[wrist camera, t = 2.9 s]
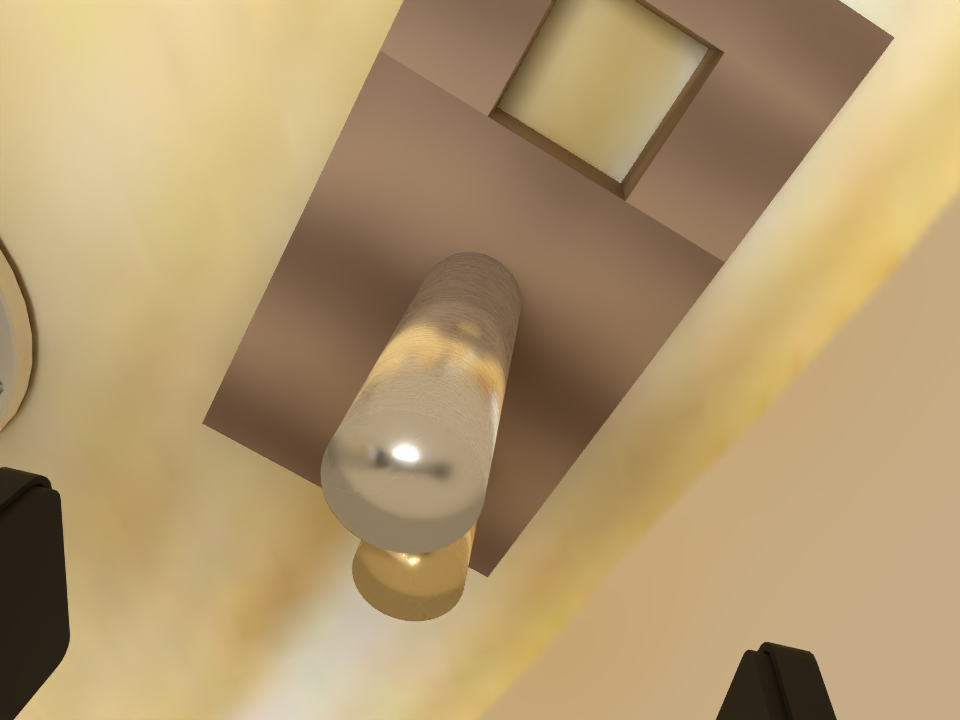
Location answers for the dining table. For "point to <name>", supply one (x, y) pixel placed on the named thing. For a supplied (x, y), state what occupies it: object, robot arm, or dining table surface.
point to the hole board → (530, 226)
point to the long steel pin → (428, 413)
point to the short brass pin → (413, 579)
